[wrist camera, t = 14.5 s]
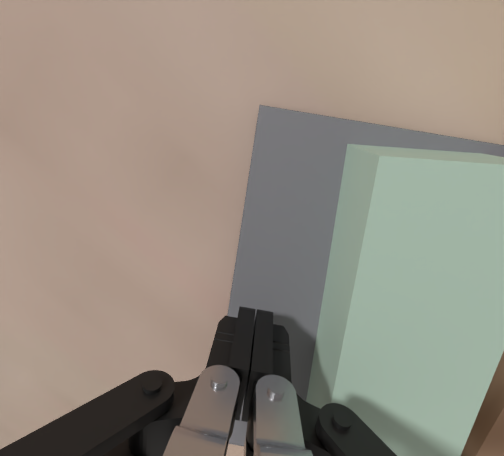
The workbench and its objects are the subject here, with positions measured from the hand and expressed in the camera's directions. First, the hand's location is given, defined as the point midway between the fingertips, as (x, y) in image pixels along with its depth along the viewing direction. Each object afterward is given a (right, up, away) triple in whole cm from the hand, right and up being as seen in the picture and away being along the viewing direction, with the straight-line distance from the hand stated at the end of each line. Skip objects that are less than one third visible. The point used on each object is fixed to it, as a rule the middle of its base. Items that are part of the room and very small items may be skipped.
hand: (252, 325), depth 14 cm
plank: (+6, 0, +1) cm, 6 cm away
